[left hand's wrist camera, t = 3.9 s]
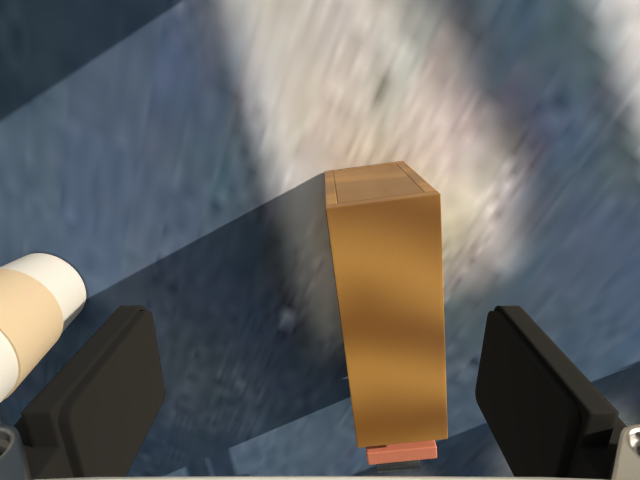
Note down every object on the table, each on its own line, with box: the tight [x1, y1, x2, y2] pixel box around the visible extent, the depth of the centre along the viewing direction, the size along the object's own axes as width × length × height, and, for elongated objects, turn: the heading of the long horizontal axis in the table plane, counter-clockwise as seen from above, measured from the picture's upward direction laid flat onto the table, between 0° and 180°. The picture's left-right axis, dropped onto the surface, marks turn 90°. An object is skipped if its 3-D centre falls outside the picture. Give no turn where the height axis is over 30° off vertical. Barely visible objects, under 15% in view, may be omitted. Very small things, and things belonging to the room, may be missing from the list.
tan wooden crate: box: [324, 161, 448, 448], centre depth 31 cm, size 18×6×11 cm, turn 8°
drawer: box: [366, 440, 437, 472], centre depth 33 cm, size 23×5×9 cm, turn 8°
